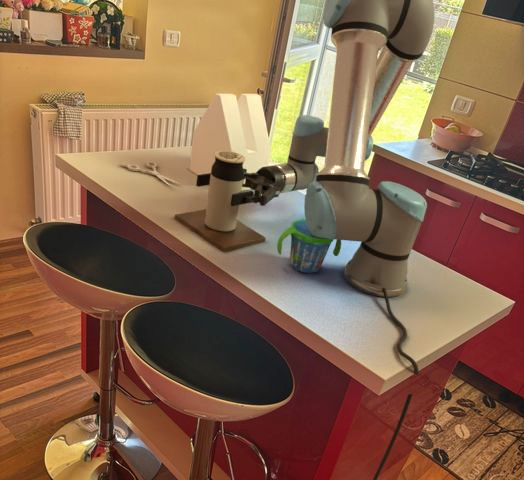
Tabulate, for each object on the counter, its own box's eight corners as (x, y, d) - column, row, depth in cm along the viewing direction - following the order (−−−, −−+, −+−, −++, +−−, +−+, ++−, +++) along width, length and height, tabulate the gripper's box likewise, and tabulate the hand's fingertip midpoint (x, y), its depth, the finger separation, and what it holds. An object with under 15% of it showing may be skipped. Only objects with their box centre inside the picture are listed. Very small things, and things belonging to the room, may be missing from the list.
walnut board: (264, 241, 140) (265, 237, 140) (223, 251, 131) (224, 247, 131) (215, 211, 151) (216, 206, 150) (174, 218, 142) (174, 214, 141)
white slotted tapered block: (189, 169, 174) (198, 85, 159) (227, 165, 183) (238, 85, 168) (226, 192, 163) (239, 104, 149) (264, 187, 173) (279, 104, 158)
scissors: (149, 160, 171) (191, 182, 162) (149, 162, 172) (190, 185, 162) (120, 163, 164) (163, 187, 155) (120, 166, 165) (162, 190, 155)
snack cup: (277, 274, 127) (286, 234, 121) (269, 253, 135) (277, 215, 129) (339, 280, 131) (351, 241, 125) (328, 259, 139) (339, 222, 133)
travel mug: (198, 224, 138) (207, 153, 128) (214, 216, 145) (223, 147, 134) (225, 235, 136) (236, 164, 126) (240, 226, 142) (252, 157, 132)
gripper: (304, 210, 142) (246, 224, 128) (241, 177, 154) (181, 186, 140) (311, 182, 138) (251, 194, 124) (245, 150, 150) (184, 157, 136)
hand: (214, 190), depth 132 cm, fingers open, 12 cm apart
